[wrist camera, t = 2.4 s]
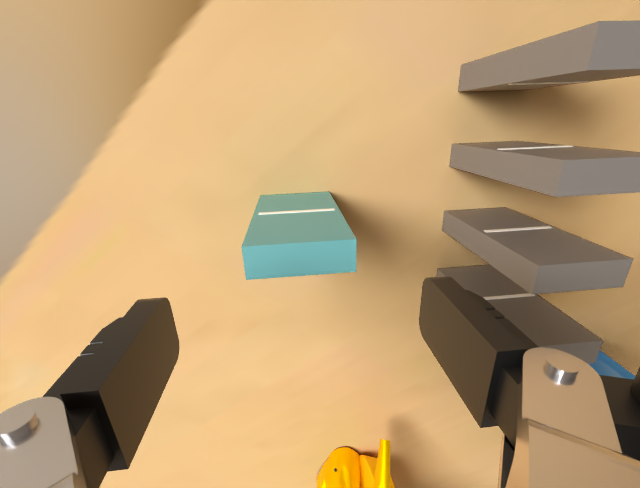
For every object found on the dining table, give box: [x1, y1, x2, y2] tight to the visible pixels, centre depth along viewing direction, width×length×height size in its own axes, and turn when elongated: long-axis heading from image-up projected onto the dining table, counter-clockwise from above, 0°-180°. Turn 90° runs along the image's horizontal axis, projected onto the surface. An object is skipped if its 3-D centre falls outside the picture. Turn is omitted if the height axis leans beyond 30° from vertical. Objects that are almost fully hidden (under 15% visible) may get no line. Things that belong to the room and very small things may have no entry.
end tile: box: [242, 192, 357, 280], centre depth 19 cm, size 5×2×10 cm, turn 92°
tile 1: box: [458, 21, 640, 92], centre depth 17 cm, size 5×2×10 cm, turn 92°
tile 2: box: [449, 141, 640, 197], centre depth 19 cm, size 5×2×10 cm, turn 92°
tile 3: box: [442, 207, 633, 294], centre depth 20 cm, size 5×2×10 cm, turn 92°
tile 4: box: [437, 265, 603, 364], centre depth 22 cm, size 5×2×10 cm, turn 92°
